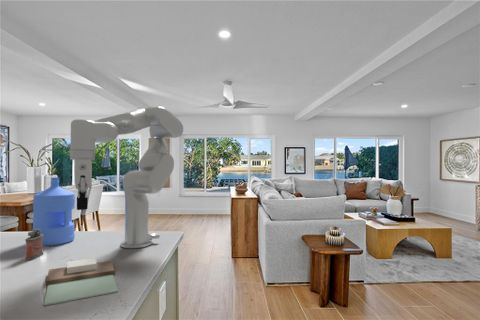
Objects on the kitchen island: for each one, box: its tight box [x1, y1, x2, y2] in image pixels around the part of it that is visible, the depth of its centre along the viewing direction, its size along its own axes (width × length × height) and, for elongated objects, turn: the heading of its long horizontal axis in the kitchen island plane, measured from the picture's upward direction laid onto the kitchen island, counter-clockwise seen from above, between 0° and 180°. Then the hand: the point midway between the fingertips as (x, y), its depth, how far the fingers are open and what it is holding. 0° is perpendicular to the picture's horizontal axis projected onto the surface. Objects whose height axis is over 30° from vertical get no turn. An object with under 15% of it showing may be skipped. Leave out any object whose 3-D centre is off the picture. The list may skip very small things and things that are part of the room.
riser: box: [45, 260, 116, 287], centre depth 92 cm, size 18×10×2 cm, turn 119°
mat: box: [43, 274, 119, 307], centre depth 82 cm, size 17×13×1 cm
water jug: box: [32, 177, 76, 247], centre depth 130 cm, size 16×16×28 cm
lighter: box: [25, 229, 44, 262], centre depth 109 cm, size 8×3×10 cm, turn 5°
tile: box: [66, 257, 97, 274], centre depth 94 cm, size 8×6×2 cm
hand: (82, 208), depth 102 cm, fingers open, 4 cm apart
